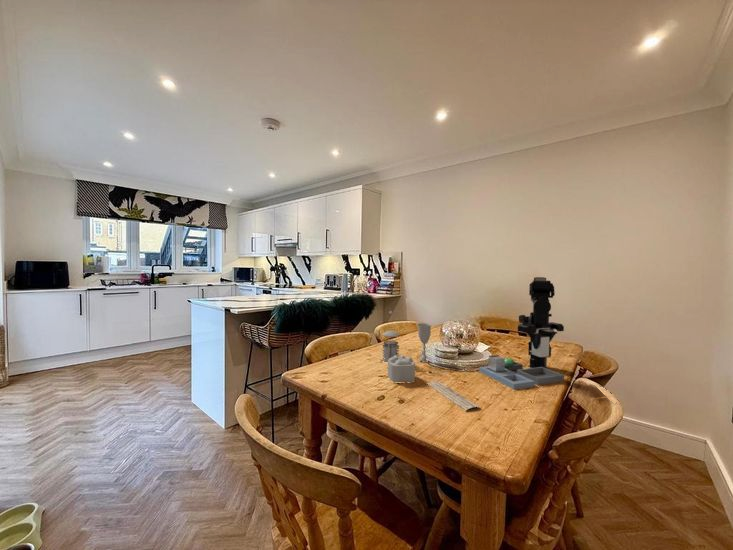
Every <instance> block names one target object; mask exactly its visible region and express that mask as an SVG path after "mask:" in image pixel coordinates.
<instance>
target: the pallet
mask: <svg viewBox="0 0 733 550" xmlns="http://www.w3.org/2000/svg"><path fill="white" fill-rule="evenodd" d="M478 372H479V373H480V374H482V375H484V376H486V377H489V378H490V379H492V380H494V381H497V382H498V383H500V384H501V385H504V386H505V387H508V388H510V389H512V390H519V389H520V390H521V389H526V388H532V387H533V388H535V387H536V384H535V381H533V380H531V379H528V378H526V377H524V376H522V375H519V374H517V372H516V371H513V372H512V371H510V370H508V369H506V368H505V369H504V372H499V373H495V372H493V371H491V370H489V365H487V366H485V365H484V366H478Z"/></svg>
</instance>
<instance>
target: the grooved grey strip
mask: <svg viewBox="0 0 733 550" xmlns="http://www.w3.org/2000/svg"><path fill="white" fill-rule="evenodd" d="M427 384H428V385H429V386H431V387H432V388H434V389H435V390H436V391H435V390H434V389H433V390H434V391H435V392H437V391H438V392H440V393H441V394H442V395H443V396H442V395H441V394H440V395H441V396H442V397H444V396H445V397H446V399H447V398H448V399H449V400H450V402H451V401H452V402H453V403H452V402H451V403H452V404H454V403H455V404H456V405H455V404H454V405H455V406H457V405H458V406H459V407H460V409H461V408H462V409H463V410H462V409H461V410H462V411H464V410H465V411H466V412H467V410H469V409H472V408H476V407H477V408H476V409H478V408H481V407H480V406H478V405H477V404H476V403H474V402H473V401H472V400H469V399H468V398H466V397H465V396H463V395H461V394H460V393H459V392H456V391H455V390H453V389H452V388H450V387H449V386H447V385H446V384H445V383H442V382H440V381H438V380H437V381H436V380H433V381H429V382H428V383H426V385H427ZM428 385H427V386H428ZM429 386H428V387H429ZM431 387H430V388H431ZM432 388H431V389H432ZM438 392H437V393H438ZM445 397H444V398H445ZM448 399H447V400H448ZM449 400H448V401H449ZM458 406H457V407H458ZM459 407H458V408H459ZM465 411H464V412H465Z"/></svg>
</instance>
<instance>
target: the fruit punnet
mask: <svg viewBox="0 0 733 550" xmlns="http://www.w3.org/2000/svg"><path fill="white" fill-rule="evenodd" d="M388 377H389V378H390V380H392V381H393V382H413V381H414V380H415V379H416V364H415V361H414V360H413V358H412V357H411V356H407V357H405V355H403V354H400V355H399V356H396V355H395V356H394V357H391V358H389V360H388V365H387V378H388ZM390 380H389V381H390ZM415 381H416V380H415ZM413 383H414V382H413Z"/></svg>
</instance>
